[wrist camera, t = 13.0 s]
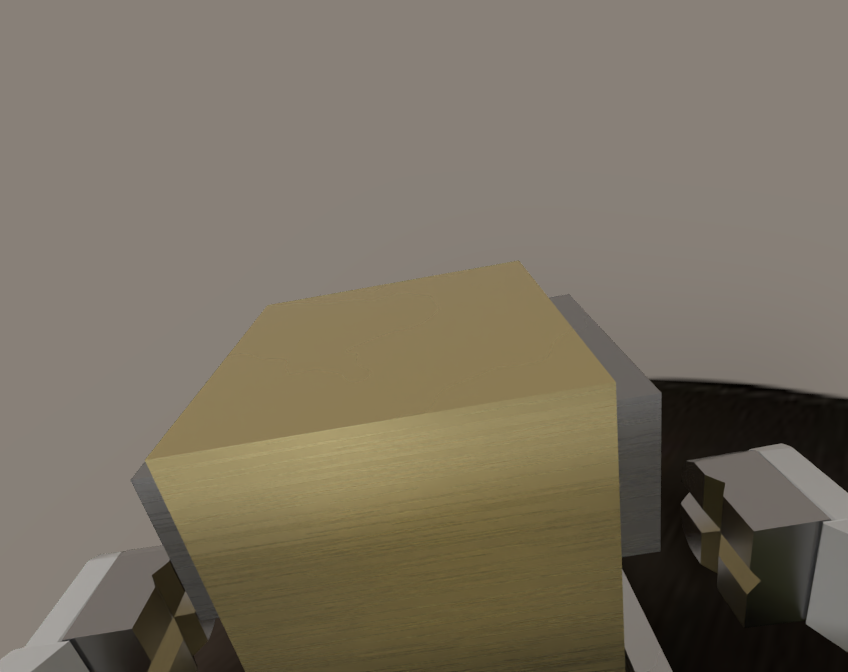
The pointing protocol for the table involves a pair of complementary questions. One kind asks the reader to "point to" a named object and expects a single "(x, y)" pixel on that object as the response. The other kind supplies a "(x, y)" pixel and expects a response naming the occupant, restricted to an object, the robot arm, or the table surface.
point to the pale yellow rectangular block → (415, 482)
